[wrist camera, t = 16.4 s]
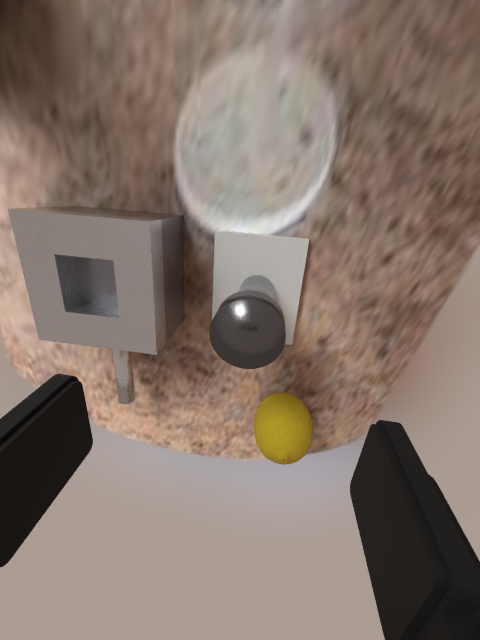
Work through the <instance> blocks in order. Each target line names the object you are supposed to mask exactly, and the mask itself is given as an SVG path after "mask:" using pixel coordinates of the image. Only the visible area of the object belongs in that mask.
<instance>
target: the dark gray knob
mask: <svg viewBox="0 0 480 640" xmlns="http://www.w3.org/2000/svg"><path fill="white" fill-rule="evenodd" d="M274 297H275V289H274V286H273V284H272V282H271V281H270V280H269V279H268V278H266V277H264V276H261V275H253V276H250V277H248V278H247V279H245V280H244V281H243V283H242V284H241V287H240V289H239V291H238V292H237V293H234V294H232V295H230V296H229V297H227V298H226V299H225V300H224V301H223V302H222V304H221V305H220V307H219V309H218V311H217V312H216V314H215V316H214V318H213V320H212V323H211V326H210V340H211V343H212V346H213V348H214V350H215V351H216V353H217V354H218V355H219V356H220V357H221V358H222V359H223V360H224V361H226V362H227V363H229V364H231V365H233V366H235V367H239V368H244V369H256V368H260V367H264V366H266V365H268V364H270V363H272V362H273V361H274V360H275V359H276V358H277V357H278V356H279V355H280V354H281V352H282V350H283V348H284V345H285V340H286V331H285V318H284V314H283V311H282V309H281V307H280V306H279V304H278V303H277V302H276V301H275V300H274Z"/></svg>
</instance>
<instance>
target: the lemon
mask: <svg viewBox="0 0 480 640" xmlns="http://www.w3.org/2000/svg"><path fill="white" fill-rule="evenodd" d="M312 430H313V428H312V421H311V416H310V413H309V411H308V409H307V407H306V406H305V404H304V403H303V402H302V401H301V400H300V399H299V398H298V397H296V396H294V395H292V394H289V393H284V392H280V393H274V394H271V395H270V396H268V397H266V398H265V399H264V400H263V401H262V402H261V404H260V405H259V407H258V409H257V411H256V415H255V420H254V431H255V438H256V442H257V444H258V446H259V449H260V451H261V452H262V453H263V454H264V455H265V456H266V457H267V458H268V459H269V460H271V461H273V462H275V463H279V464H291V463H294V462H297V461H298V460H300V459H301V458H302V457H303V456H304V455H305V454H306V453H307V451H308V449H309V447H310V444H311V439H312Z"/></svg>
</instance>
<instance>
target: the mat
mask: <svg viewBox="0 0 480 640" xmlns="http://www.w3.org/2000/svg"><path fill="white" fill-rule="evenodd" d="M308 244H309V239H307V238H295V237H284V236H273V235H262V234H251V233H240V232H229V231H217V230H216V231H215V245H214V274H213V303H212V320H213V318H214V316H215V314H216V312H217V311H218V309H219V307H220V305H221V304H222V302H223V301H224V300H225V299H226V298H227V297H229V296H230V295H232V294H234V293H237V292H238V291H239V289H240V287H241V284H242V283H243V281H244V280H245V279H247V278H248V277H250V276H253V275H261V276H264V277H266V278H268V279H269V280H270V281H271V282H272V284H273V286H274V289H275V297H274V300H275V301H276V302H277V303H278V304H279V306H280V307H281V309H282V311H283V314H284V318H285V331H286V340H285V344H287V345H292V342H293V336H294V330H295V324H296V317H297V311H298V305H299V299H300V293H301V287H302V281H303V275H304V269H305V263H306V257H307V251H308Z"/></svg>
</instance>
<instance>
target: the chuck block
mask: <svg viewBox="0 0 480 640" xmlns="http://www.w3.org/2000/svg"><path fill="white" fill-rule="evenodd" d="M8 211H9V215H10V219H11V223H12V228H13V232H14V236H15V240H16V244H17V249H18V253H19V257H20V261H21V265H22V269H23V274H24V278H25V282H26V286H27V290H28V295H29V299H30V303H31V307H32V311H33V316H34V320H35V324H36V328H37V332H38V337H39V339H40V340H47V341H55V342H63V343H70V344H78V345H85V346H93V347H101V348H108V349H112V353H113V361H114V369H115V377H116V385H117V393H118V401H119V403H121V404H129V403H131V402H133V401H134V400H135V391H134V381H133V370H132V359H131V352H139V353H146V354H154V355H157V354H158V353H159V351H160V350H161V349H162V348H163V346H164V345H165V344H166V342H167V341H168V340H169V339H170V337H171V336H172V335H173V333H174V332H175V331H176V330H177V328H178V327H179V326H180V325H181V323H182V322H183V321H184V269H183V215H172V214H160V213H149V212H137V211H125V210H114V209H102V208H91V207H79V206H68V207H43V208H18V209H8Z"/></svg>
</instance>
